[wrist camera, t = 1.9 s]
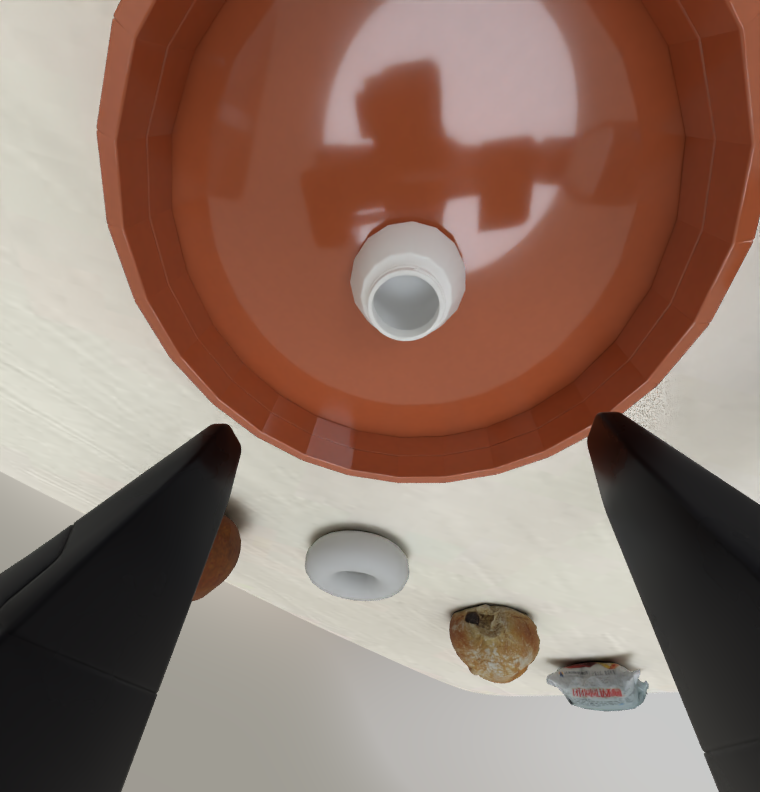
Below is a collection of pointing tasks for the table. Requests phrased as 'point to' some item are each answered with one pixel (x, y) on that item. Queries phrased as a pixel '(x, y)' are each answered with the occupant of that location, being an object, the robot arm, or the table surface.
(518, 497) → the table surface
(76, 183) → the table surface
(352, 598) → the donut
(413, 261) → the white jar
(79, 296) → the table surface
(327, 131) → the terracotta round tray
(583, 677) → the packaged food
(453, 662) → the table surface
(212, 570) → the potato
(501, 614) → the bread roll
